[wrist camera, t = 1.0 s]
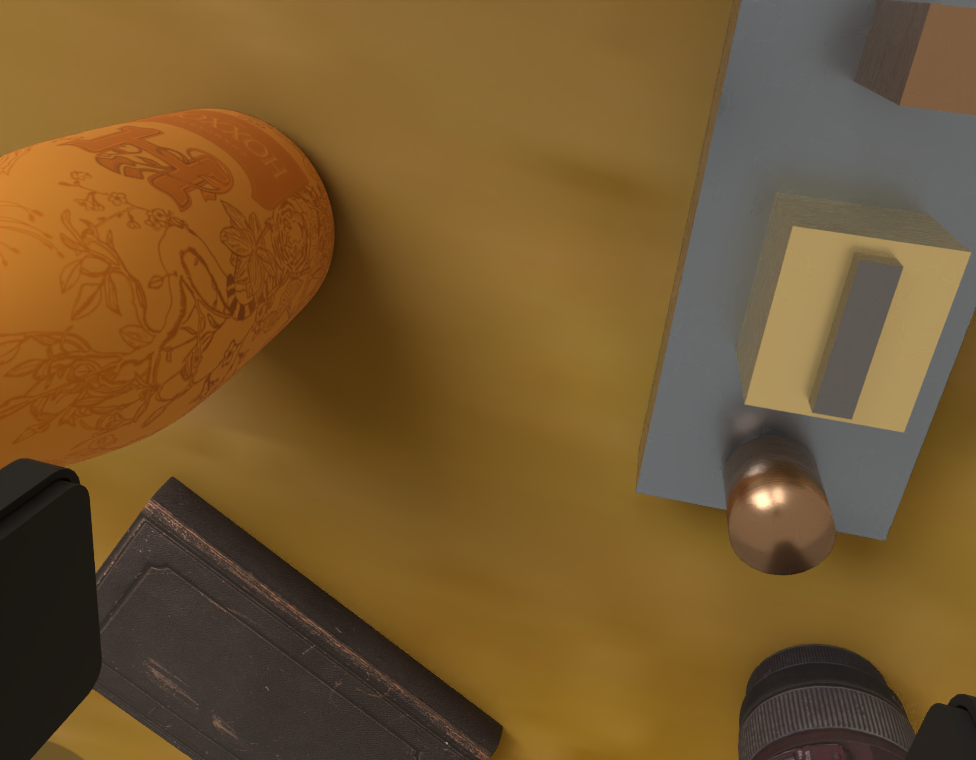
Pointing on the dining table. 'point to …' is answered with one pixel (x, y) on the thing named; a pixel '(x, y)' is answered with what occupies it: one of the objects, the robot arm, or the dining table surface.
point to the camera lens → (821, 709)
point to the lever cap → (846, 310)
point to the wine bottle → (146, 273)
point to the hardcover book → (260, 653)
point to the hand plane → (738, 242)
